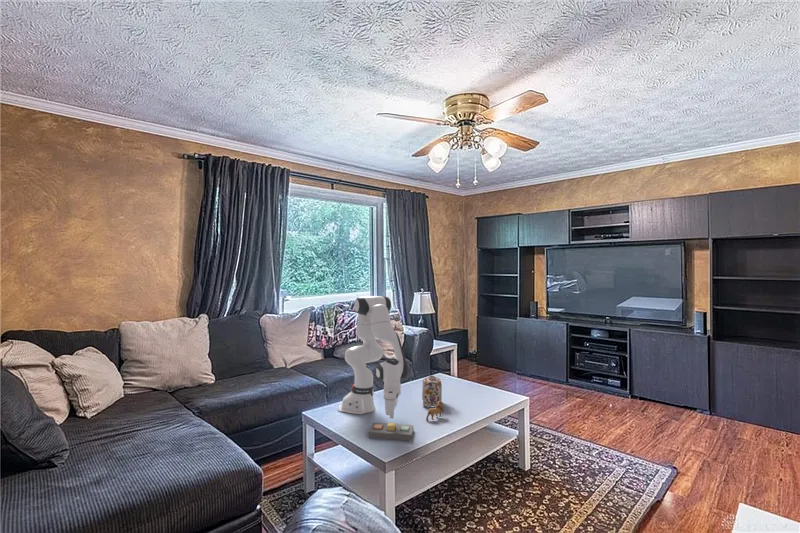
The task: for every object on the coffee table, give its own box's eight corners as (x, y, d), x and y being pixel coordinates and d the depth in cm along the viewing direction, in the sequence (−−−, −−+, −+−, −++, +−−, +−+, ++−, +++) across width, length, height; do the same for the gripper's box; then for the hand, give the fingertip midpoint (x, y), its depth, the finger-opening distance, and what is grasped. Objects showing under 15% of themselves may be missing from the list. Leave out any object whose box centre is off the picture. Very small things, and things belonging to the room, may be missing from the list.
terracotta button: (373, 434, 203) (373, 427, 203) (375, 431, 207) (375, 424, 207) (381, 435, 202) (381, 427, 202) (382, 431, 206) (382, 424, 206)
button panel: (368, 437, 199) (368, 431, 199) (372, 428, 211) (372, 422, 211) (411, 440, 197) (411, 434, 197) (413, 430, 208) (413, 425, 208)
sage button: (400, 436, 201) (400, 429, 201) (401, 433, 205) (401, 425, 205) (408, 436, 201) (408, 429, 201) (408, 433, 205) (409, 426, 205)
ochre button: (387, 432, 202) (387, 425, 202) (388, 429, 206) (388, 422, 206) (394, 433, 202) (394, 426, 202) (395, 430, 206) (395, 423, 206)
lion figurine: (437, 414, 233) (438, 399, 233) (445, 416, 229) (445, 401, 229) (423, 421, 221) (423, 405, 221) (431, 424, 218) (431, 408, 218)
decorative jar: (441, 407, 243) (442, 379, 243) (422, 407, 243) (423, 378, 243) (440, 401, 255) (440, 373, 255) (422, 400, 255) (422, 373, 255)
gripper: (389, 384, 214) (388, 410, 214) (383, 396, 194) (382, 424, 194) (400, 385, 214) (400, 410, 214) (395, 397, 193) (395, 425, 193)
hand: (391, 417), depth 204 cm, fingers closed
